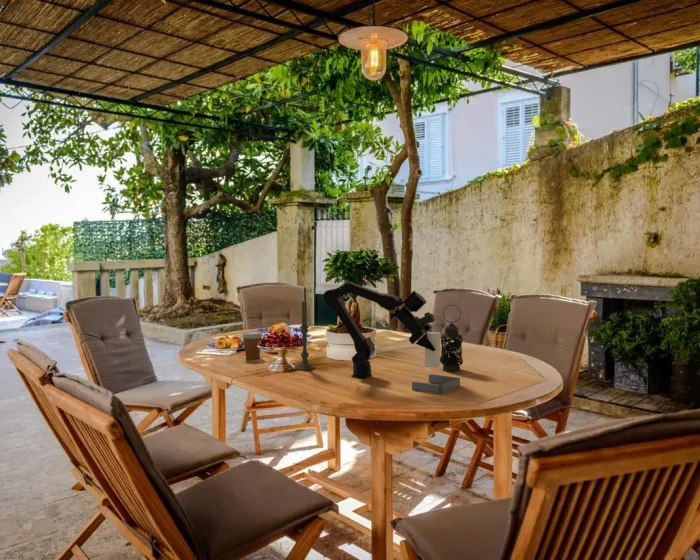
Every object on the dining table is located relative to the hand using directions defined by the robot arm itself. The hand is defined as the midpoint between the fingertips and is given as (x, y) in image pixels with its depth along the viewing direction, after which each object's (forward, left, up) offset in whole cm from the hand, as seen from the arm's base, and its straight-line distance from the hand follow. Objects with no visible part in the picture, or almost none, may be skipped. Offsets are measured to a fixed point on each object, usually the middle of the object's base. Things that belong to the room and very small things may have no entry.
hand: (436, 349), depth 233 cm
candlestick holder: (-58, -9, -13) cm, 61 cm away
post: (-1, 0, -7) cm, 7 cm away
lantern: (-3, +22, -13) cm, 25 cm away
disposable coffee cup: (-93, -5, -13) cm, 95 cm away
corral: (+4, -8, -13) cm, 16 cm away
